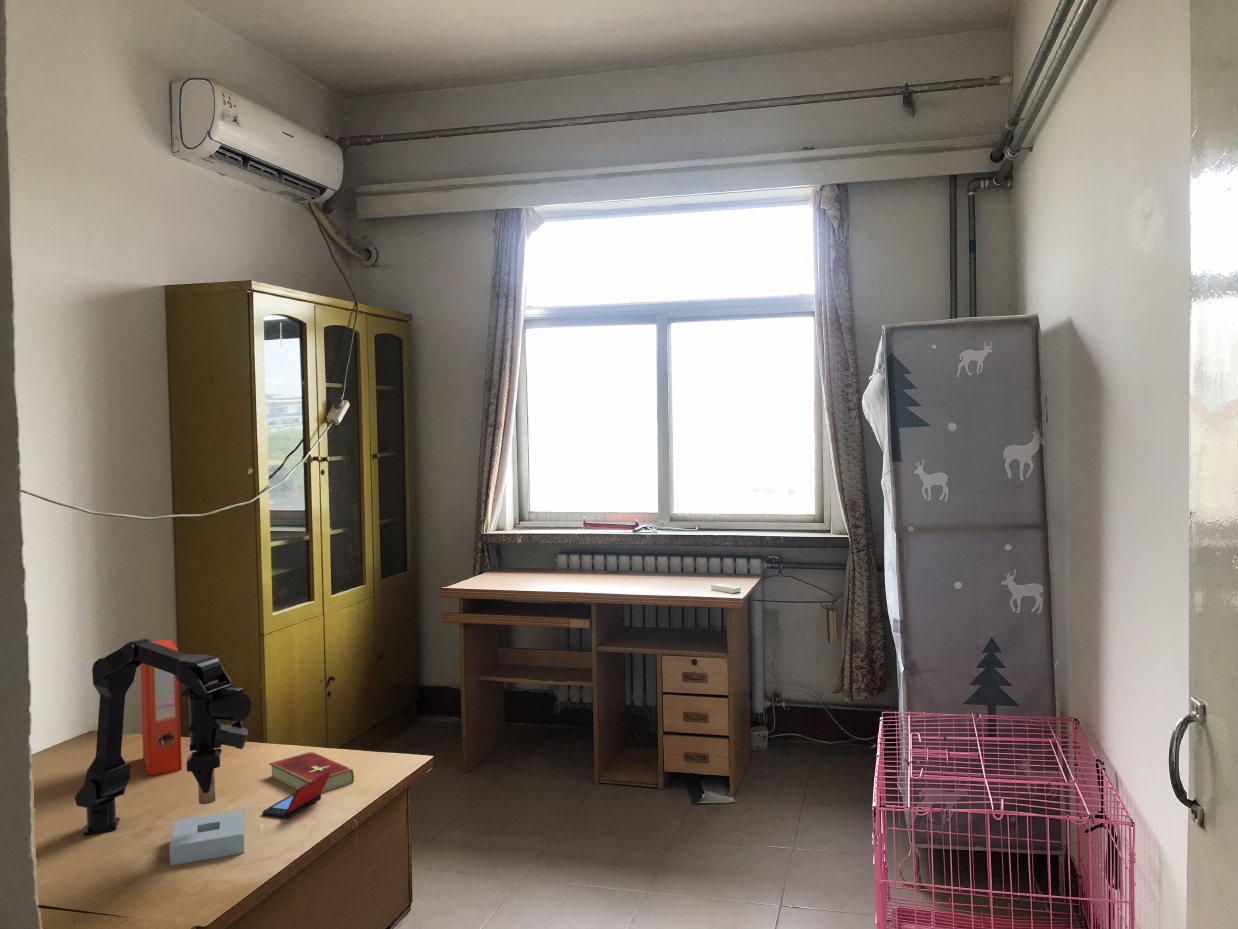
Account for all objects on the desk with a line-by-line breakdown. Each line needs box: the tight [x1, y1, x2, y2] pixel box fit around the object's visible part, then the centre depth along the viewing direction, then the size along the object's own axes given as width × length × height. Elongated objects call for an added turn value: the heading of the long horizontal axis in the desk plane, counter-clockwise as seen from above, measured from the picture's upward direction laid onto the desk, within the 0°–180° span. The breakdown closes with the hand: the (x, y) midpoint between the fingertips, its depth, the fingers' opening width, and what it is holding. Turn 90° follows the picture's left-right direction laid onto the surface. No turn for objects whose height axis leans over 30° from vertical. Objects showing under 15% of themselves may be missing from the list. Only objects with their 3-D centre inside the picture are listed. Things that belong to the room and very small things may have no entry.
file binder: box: [140, 639, 183, 776], centre depth 248 cm, size 8×17×32 cm, turn 32°
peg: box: [197, 768, 216, 805], centre depth 195 cm, size 3×3×8 cm
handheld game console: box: [262, 772, 330, 820], centre depth 215 cm, size 12×11×7 cm
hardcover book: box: [268, 751, 355, 793], centre depth 234 cm, size 12×21×4 cm, turn 46°
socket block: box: [169, 809, 246, 867], centre depth 196 cm, size 14×14×4 cm
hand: (206, 789), depth 195 cm, fingers closed on peg, 3 cm apart
